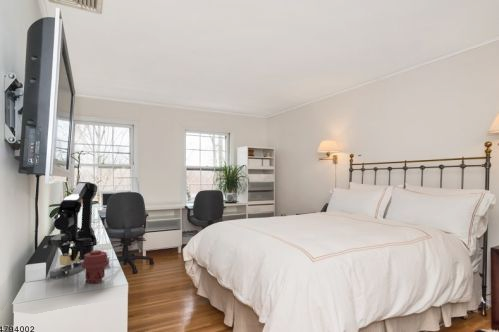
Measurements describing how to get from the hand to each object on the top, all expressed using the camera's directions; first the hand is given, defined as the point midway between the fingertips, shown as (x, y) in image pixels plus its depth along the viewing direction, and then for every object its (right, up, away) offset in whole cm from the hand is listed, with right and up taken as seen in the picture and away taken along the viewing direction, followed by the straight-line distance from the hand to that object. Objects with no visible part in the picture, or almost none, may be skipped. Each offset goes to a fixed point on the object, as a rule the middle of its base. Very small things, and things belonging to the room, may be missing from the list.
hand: (69, 260), depth 131 cm
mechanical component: (+18, -5, -12) cm, 23 cm away
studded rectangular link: (0, -5, 0) cm, 5 cm away
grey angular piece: (+10, -6, +8) cm, 14 cm away
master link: (0, -1, 0) cm, 1 cm away
